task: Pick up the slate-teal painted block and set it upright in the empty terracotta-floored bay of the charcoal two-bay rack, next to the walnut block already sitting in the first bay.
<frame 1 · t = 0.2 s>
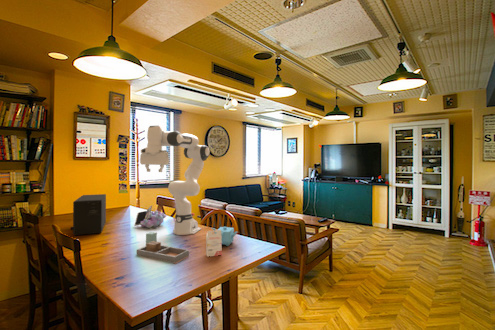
hand: (154, 171, 163), 47 cm above the table, fingers open, 8 cm apart
walnut block: (153, 253, 146), resting on bay rack
teapot: (223, 244, 167), on the table
slate block: (151, 245, 161), on the table
purple rock: (150, 226, 208), on the table
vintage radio: (89, 229, 197), on the table
ink cartridge box: (213, 255, 147), on the table
bay rack: (162, 256, 144), on the table
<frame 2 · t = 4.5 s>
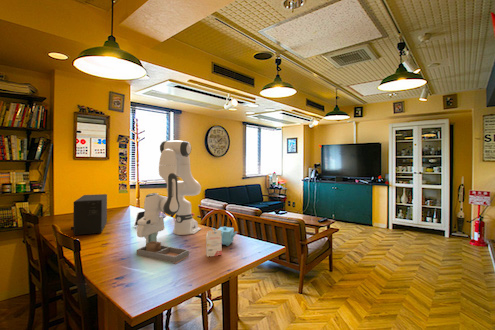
hand: (151, 240, 161), 3 cm above the table, fingers closed on slate block, 4 cm apart
slate block: (151, 245, 161), on the table, touching gripper
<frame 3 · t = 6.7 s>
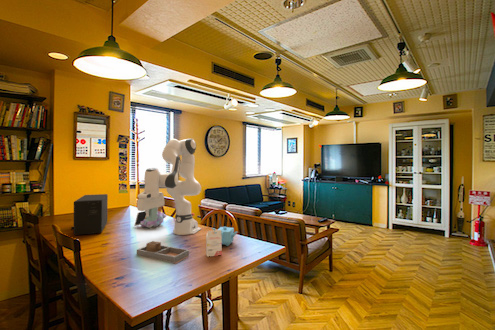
hand: (151, 215, 161), 19 cm above the table, fingers closed on slate block, 4 cm apart
slate block: (151, 220, 161), point 16 cm above the table, touching gripper
everything else where it was.
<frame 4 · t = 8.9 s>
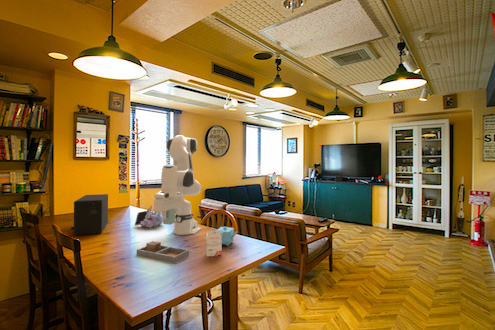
hand: (169, 217, 143), 22 cm above the table, fingers closed on slate block, 4 cm apart
slate block: (169, 223, 143), point 19 cm above the table, touching gripper
everything else where it was.
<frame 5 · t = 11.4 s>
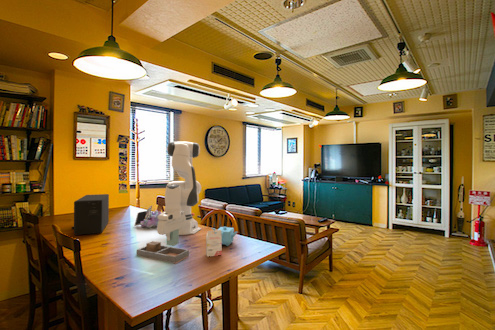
hand: (172, 238, 141), 11 cm above the table, fingers closed on slate block, 4 cm apart
slate block: (172, 244, 141), point 8 cm above the table, touching gripper
when the fingers open (5 cm above the table, at t = 13.3 s): slate block drops 1 cm, resting on bay rack.
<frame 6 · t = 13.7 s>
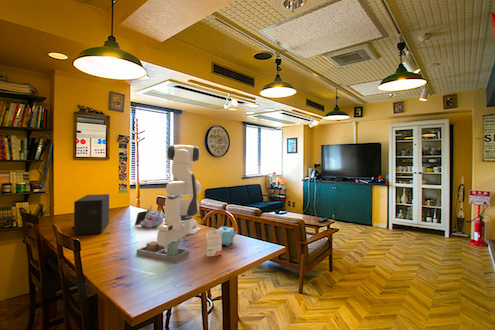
hand: (172, 248, 141), 5 cm above the table, fingers open, 8 cm apart
slate block: (172, 256, 141), resting on bay rack
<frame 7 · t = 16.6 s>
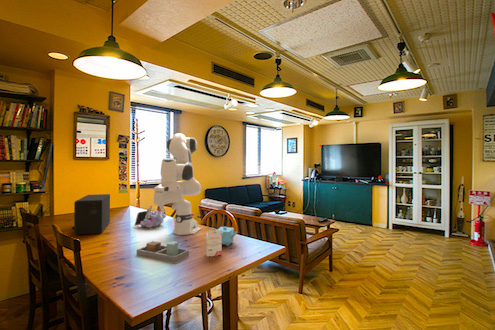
hand: (168, 210, 145), 25 cm above the table, fingers open, 8 cm apart
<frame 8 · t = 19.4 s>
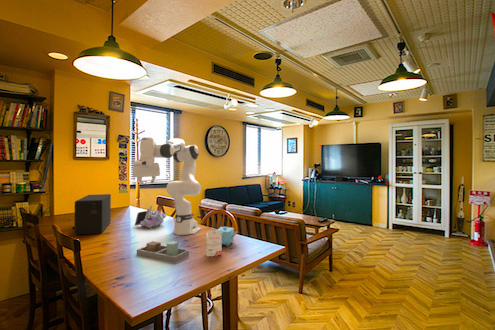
hand: (147, 183, 164), 39 cm above the table, fingers open, 8 cm apart
at the end: slate block inside the target area on the bay rack (0.1 cm from its centre), point 0.5 cm above the bay rack's base; slate block tilted 0°; the gripper is holding nothing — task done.
